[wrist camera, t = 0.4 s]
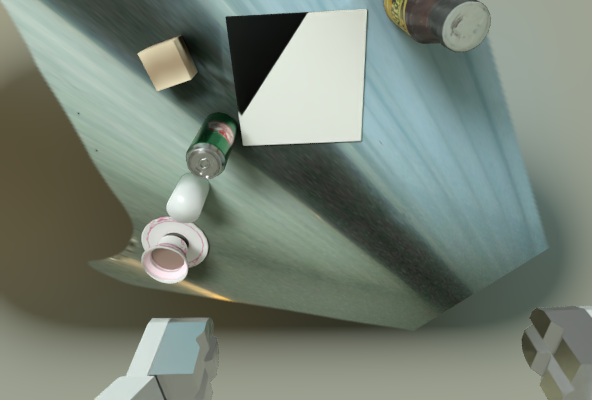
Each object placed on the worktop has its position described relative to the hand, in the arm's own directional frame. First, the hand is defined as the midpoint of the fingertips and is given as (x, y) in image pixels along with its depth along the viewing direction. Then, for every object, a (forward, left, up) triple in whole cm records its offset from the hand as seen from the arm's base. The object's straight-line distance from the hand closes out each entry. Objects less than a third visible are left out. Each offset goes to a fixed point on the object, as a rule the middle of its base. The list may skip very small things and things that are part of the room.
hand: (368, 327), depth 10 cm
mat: (+7, -2, -48) cm, 48 cm away
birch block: (+3, -19, -48) cm, 52 cm away
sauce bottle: (-3, +12, -48) cm, 49 cm away
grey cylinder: (+23, -20, -48) cm, 57 cm away
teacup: (+35, -26, -48) cm, 65 cm away
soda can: (+13, -14, -48) cm, 52 cm away
